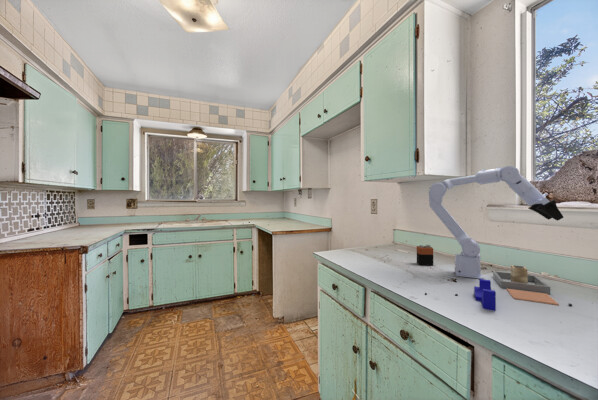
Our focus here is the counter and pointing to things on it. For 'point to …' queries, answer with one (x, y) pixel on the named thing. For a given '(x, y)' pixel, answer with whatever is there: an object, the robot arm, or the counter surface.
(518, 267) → the part block
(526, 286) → the parts tray
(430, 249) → the battery
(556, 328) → the counter surface
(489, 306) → the cable clip
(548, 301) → the place mat
